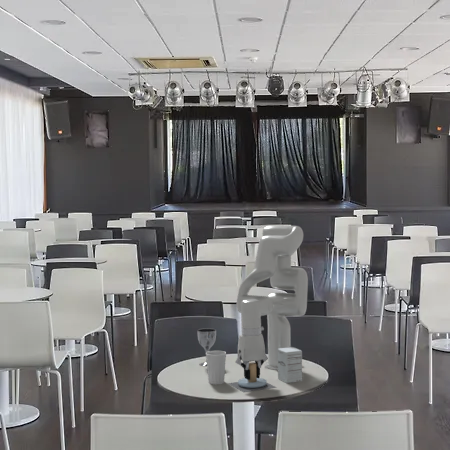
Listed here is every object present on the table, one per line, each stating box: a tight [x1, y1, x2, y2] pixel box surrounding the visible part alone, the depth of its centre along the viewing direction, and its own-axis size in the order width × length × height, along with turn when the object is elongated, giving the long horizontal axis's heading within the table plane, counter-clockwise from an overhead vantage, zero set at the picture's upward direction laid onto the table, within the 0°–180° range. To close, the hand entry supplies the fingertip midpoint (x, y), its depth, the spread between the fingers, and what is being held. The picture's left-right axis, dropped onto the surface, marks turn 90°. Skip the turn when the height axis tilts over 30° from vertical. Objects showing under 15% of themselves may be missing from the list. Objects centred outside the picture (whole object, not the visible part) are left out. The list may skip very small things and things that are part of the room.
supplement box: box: [277, 346, 303, 384], centre depth 308 cm, size 7×7×13 cm
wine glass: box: [197, 327, 217, 367], centre depth 336 cm, size 8×8×15 cm
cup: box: [205, 350, 227, 385], centre depth 306 cm, size 8×8×12 cm
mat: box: [227, 381, 277, 393], centre depth 301 cm, size 14×14×1 cm
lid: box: [237, 361, 268, 388], centre depth 301 cm, size 11×11×8 cm
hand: (252, 377), depth 301 cm, fingers closed on lid, 3 cm apart
